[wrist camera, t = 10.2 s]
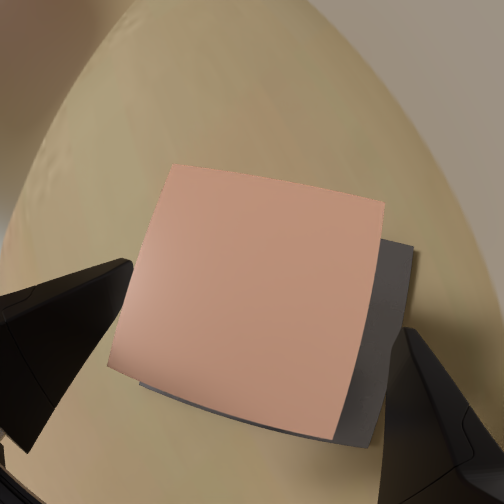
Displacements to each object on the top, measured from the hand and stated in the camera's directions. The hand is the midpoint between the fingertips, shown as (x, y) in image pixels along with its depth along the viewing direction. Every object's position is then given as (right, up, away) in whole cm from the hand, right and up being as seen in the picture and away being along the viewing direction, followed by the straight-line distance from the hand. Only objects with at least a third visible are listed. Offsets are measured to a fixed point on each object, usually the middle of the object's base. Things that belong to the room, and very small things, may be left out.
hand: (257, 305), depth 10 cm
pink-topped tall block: (+1, -3, +9) cm, 9 cm away
